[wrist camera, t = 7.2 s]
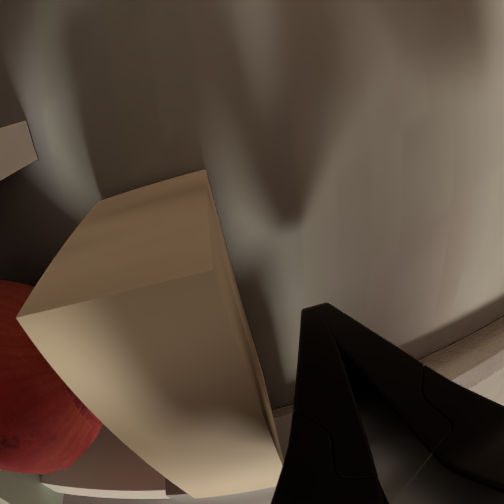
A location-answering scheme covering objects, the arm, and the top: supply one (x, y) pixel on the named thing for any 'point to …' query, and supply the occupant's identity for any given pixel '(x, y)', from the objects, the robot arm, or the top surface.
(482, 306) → the top surface
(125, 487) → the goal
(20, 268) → the top surface
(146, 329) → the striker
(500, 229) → the top surface
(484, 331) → the rail
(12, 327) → the red round solid
